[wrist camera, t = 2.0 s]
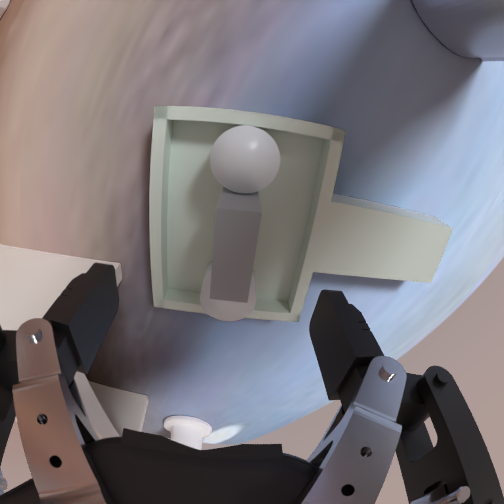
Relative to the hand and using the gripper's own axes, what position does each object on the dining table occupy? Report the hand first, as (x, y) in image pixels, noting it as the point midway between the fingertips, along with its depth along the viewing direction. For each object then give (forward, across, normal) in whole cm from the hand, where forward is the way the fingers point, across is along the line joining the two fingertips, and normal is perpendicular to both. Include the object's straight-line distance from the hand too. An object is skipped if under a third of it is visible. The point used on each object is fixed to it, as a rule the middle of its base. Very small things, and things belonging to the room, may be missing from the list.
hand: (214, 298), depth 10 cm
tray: (+10, -6, 0) cm, 12 cm away
